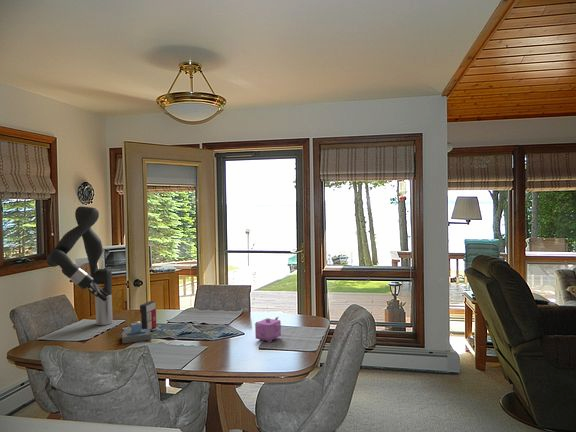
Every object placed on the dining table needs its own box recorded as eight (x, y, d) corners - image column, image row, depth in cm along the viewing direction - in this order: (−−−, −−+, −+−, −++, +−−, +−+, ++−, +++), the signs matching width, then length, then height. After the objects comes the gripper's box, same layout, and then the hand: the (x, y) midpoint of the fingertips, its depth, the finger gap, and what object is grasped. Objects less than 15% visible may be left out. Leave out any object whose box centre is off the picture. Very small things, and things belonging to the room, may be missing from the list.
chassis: (122, 337, 242) (122, 331, 241) (149, 333, 246) (149, 328, 246) (122, 343, 230) (122, 337, 230) (150, 339, 235) (150, 334, 235)
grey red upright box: (147, 332, 250) (146, 305, 249) (140, 331, 251) (139, 305, 250) (157, 326, 260) (156, 301, 260) (150, 326, 261) (149, 301, 261)
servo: (127, 338, 239) (126, 322, 238) (145, 336, 242) (144, 320, 241) (127, 340, 235) (126, 324, 235) (145, 338, 238) (144, 322, 238)
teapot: (283, 343, 224) (283, 321, 223) (256, 345, 221) (256, 323, 221) (279, 334, 239) (278, 314, 238) (254, 336, 236) (253, 316, 236)
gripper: (85, 275, 227) (110, 295, 232) (88, 271, 241) (111, 290, 245) (74, 286, 226) (100, 306, 230) (77, 281, 239) (101, 300, 244)
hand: (106, 298), depth 238 cm, fingers open, 8 cm apart
